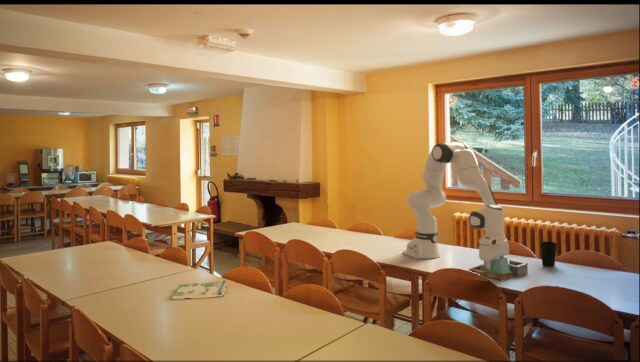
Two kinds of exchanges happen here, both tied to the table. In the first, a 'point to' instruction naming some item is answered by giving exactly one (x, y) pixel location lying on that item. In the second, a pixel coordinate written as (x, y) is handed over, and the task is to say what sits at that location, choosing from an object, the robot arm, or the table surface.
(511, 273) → the tray
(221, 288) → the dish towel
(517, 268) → the bay
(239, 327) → the table surface
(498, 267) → the green rectangular block
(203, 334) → the table surface
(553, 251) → the cup
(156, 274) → the table surface
